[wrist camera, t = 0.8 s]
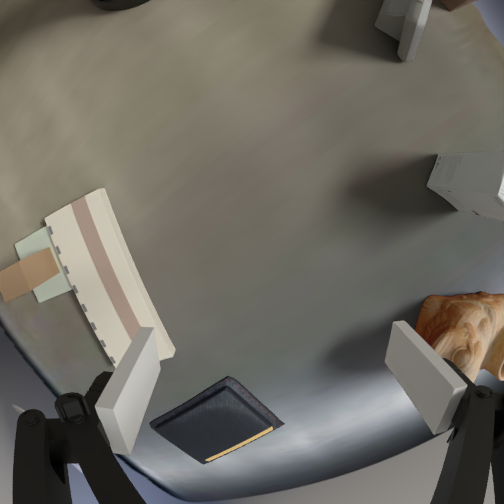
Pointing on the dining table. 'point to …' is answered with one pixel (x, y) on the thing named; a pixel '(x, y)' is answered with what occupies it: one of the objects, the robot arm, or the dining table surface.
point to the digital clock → (404, 23)
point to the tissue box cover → (456, 3)
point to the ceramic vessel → (466, 331)
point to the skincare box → (471, 182)
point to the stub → (35, 269)
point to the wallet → (216, 421)
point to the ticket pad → (104, 275)
